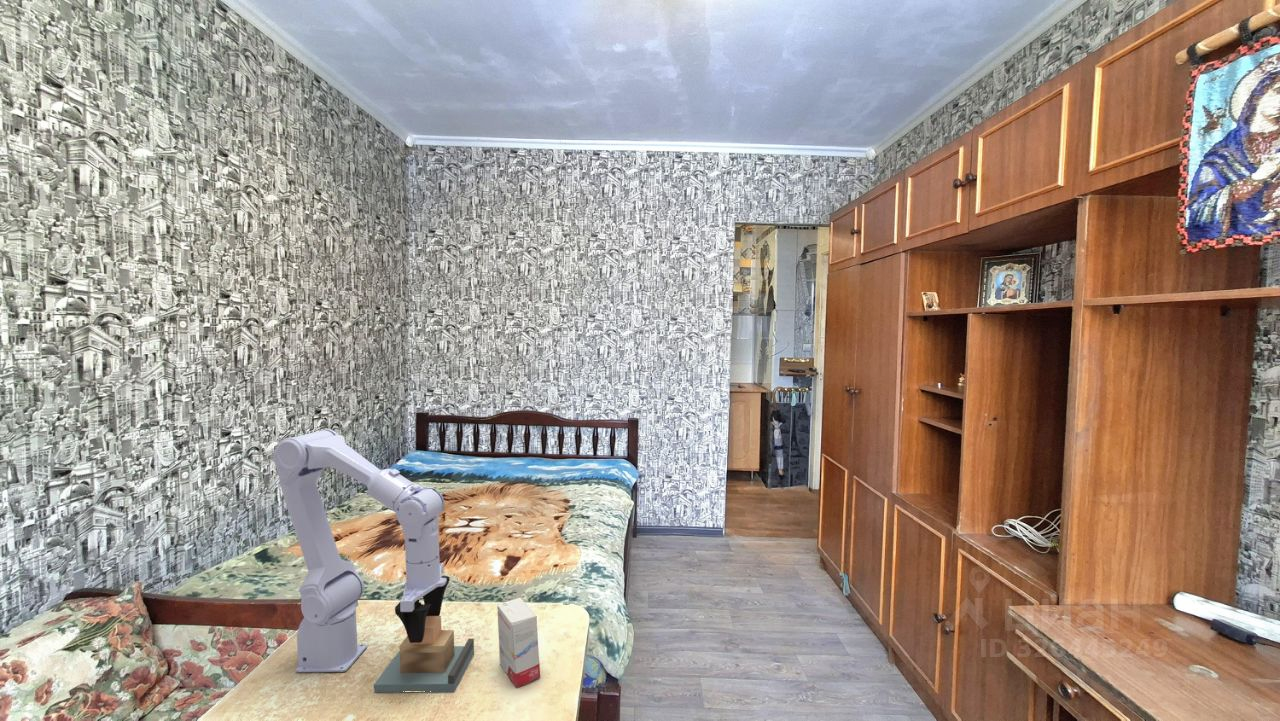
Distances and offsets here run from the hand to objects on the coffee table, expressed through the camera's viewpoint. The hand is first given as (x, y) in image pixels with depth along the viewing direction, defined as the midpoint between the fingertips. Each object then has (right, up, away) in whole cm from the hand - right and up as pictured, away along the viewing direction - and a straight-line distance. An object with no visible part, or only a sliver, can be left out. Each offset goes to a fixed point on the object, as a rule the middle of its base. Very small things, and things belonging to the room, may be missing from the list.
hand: (425, 629), depth 97 cm
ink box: (+17, -8, 0) cm, 19 cm away
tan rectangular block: (0, -7, 0) cm, 7 cm away
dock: (0, -8, +1) cm, 8 cm away
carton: (0, -2, 0) cm, 2 cm away
